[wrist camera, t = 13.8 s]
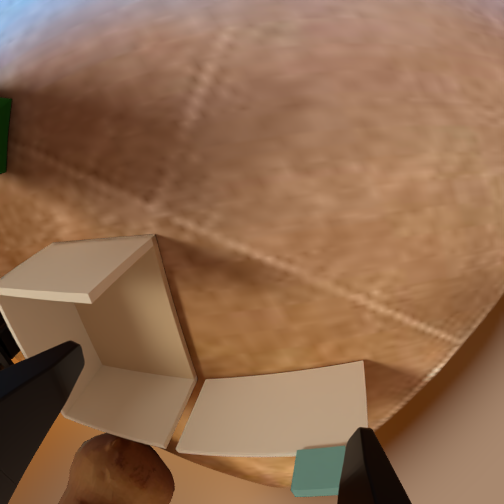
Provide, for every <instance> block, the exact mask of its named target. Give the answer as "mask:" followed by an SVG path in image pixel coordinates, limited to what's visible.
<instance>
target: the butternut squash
mask: <svg viewBox="0 0 504 504" xmlns="http://www.w3.org/2000/svg"><path fill="white" fill-rule="evenodd" d="M174 487H175V486H174V480H173V477H172V474H171V472H170V470H169V469H168V468H167V466H166V465H165V463H164V462H163V461H162V459H161V458H160V457H159V455H158V454H157V453H156V451H155V450H153V448H152V447H151V446H150V445H148V444H144V443H140V442H136V441H133V440H129V439H126V438H122V437H119V436H116V435H112V434H109V433H104V434H101V435H98V436H95V437H93V438H91V439H90V440H87V441H85V442H84V443H83V444H82V445H81V447H80V448H79V449H78V451H77V452H76V454H75V457H74V460H73V462H72V465H71V468H70V475H69V481H68V485H67V488H66V490H65V492H64V494H63V496H62V497H61V499H60V501H59V503H58V504H169V503H170V501H171V499H172V496H173V492H174V490H175V488H174Z"/></svg>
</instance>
